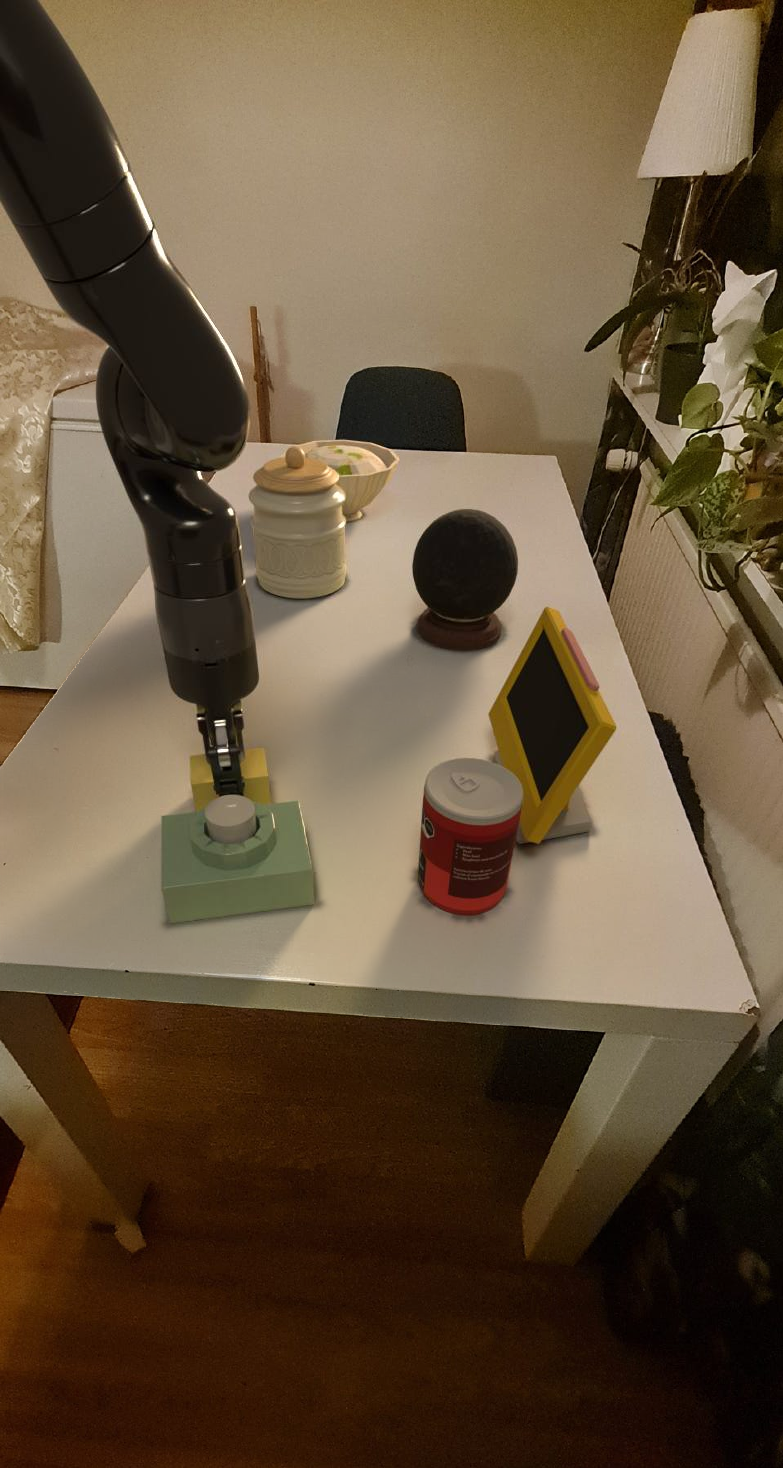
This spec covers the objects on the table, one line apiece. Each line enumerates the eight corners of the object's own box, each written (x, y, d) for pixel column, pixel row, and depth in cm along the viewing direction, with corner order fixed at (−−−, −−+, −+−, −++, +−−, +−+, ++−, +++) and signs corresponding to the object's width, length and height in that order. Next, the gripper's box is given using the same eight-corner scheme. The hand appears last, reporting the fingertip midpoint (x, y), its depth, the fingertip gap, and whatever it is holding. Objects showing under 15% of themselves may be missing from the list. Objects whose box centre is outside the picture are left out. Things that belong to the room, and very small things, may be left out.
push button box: (170, 923, 64) (157, 871, 59) (169, 850, 70) (157, 799, 66) (314, 904, 66) (311, 853, 61) (301, 835, 72) (297, 784, 68)
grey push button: (209, 847, 62) (205, 828, 61) (207, 816, 65) (203, 797, 63) (258, 842, 63) (256, 823, 61) (254, 810, 66) (252, 792, 64)
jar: (237, 582, 110) (222, 447, 98) (298, 555, 118) (291, 426, 106) (305, 609, 105) (298, 470, 93) (364, 578, 112) (365, 446, 100)
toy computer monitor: (484, 741, 84) (503, 602, 73) (554, 739, 84) (584, 602, 73) (519, 869, 69) (549, 720, 58) (604, 866, 70) (649, 719, 59)
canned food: (446, 843, 72) (456, 745, 64) (522, 879, 68) (542, 781, 61) (399, 890, 67) (404, 791, 59) (477, 931, 64) (494, 832, 56)
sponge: (197, 817, 73) (190, 784, 70) (196, 788, 76) (189, 755, 73) (271, 809, 74) (268, 776, 71) (267, 780, 77) (263, 747, 74)
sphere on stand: (503, 660, 96) (521, 538, 86) (400, 647, 98) (405, 526, 88) (512, 613, 106) (529, 499, 95) (418, 602, 107) (425, 488, 97)
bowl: (314, 543, 121) (311, 475, 114) (266, 503, 133) (261, 440, 126) (419, 524, 128) (422, 459, 121) (365, 488, 140) (365, 427, 133)
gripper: (160, 598, 67) (191, 757, 79) (160, 683, 57) (195, 851, 69) (247, 592, 68) (264, 750, 80) (261, 674, 58) (279, 841, 70)
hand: (232, 796), depth 75 cm, fingers closed on sponge, 4 cm apart
